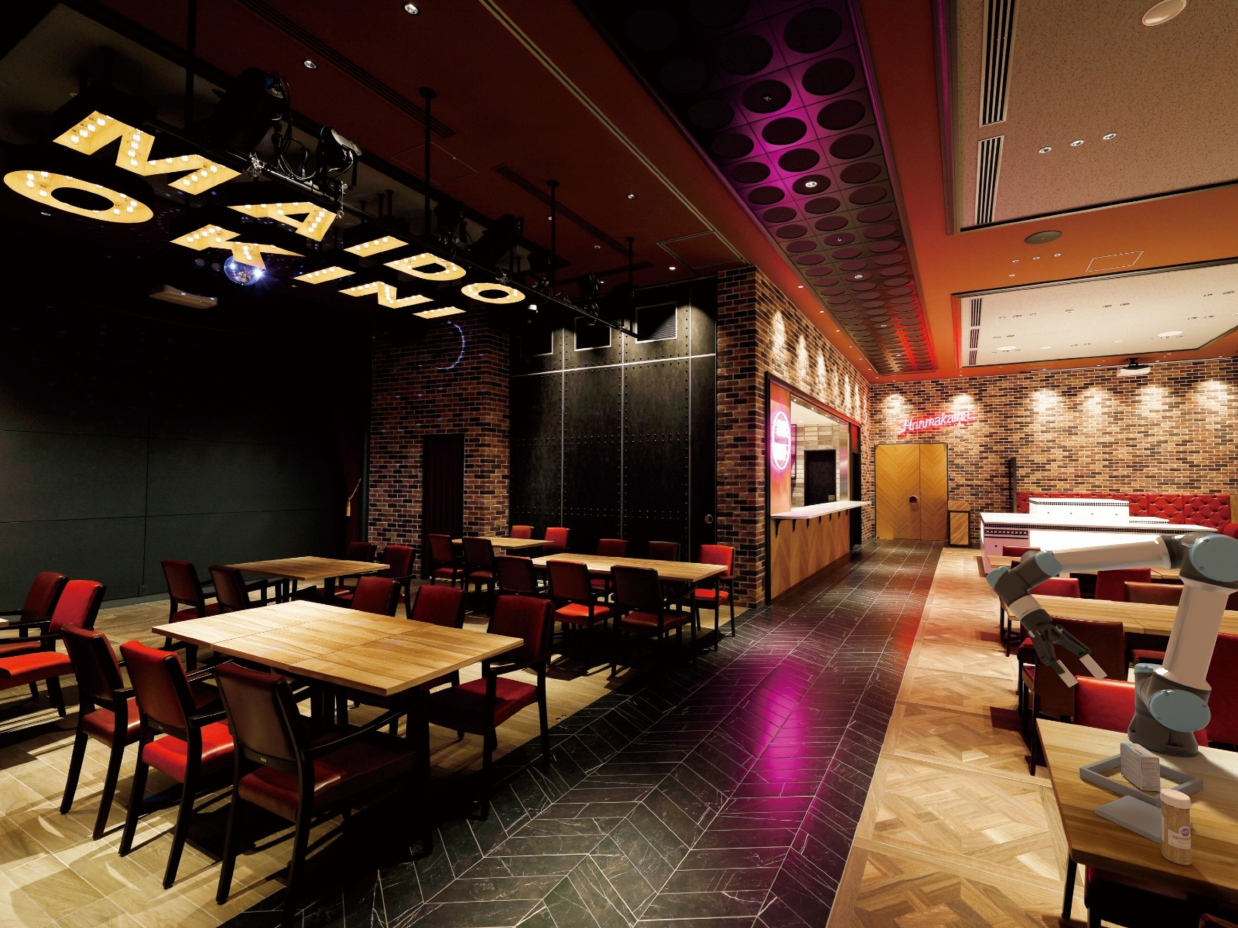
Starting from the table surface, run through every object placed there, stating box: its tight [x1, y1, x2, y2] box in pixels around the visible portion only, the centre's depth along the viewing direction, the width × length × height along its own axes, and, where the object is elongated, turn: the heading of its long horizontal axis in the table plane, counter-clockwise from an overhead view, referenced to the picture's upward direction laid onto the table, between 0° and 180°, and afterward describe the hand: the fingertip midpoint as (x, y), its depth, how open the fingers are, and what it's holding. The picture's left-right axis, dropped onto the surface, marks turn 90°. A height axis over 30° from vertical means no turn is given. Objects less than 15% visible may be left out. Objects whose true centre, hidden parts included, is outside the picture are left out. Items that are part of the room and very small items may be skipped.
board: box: [1094, 795, 1194, 844], centre depth 132 cm, size 14×12×1 cm
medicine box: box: [1119, 742, 1162, 793], centre depth 148 cm, size 8×4×9 cm, turn 168°
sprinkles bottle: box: [1159, 788, 1192, 866], centre depth 119 cm, size 5×5×14 cm
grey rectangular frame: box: [1078, 753, 1204, 809], centre depth 148 cm, size 22×16×2 cm
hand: (1088, 681), depth 158 cm, fingers open, 13 cm apart
